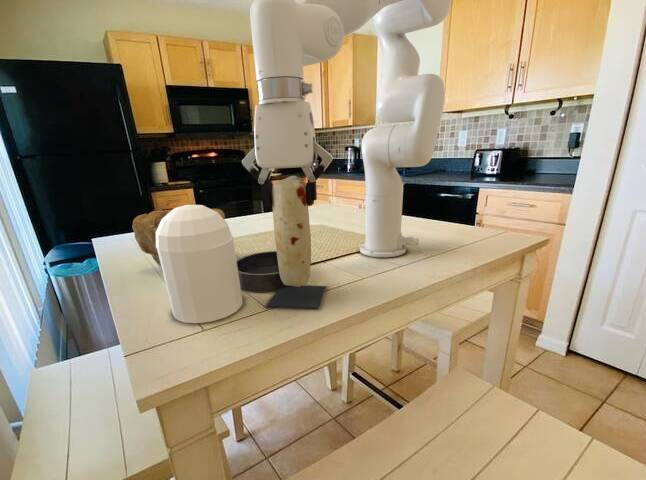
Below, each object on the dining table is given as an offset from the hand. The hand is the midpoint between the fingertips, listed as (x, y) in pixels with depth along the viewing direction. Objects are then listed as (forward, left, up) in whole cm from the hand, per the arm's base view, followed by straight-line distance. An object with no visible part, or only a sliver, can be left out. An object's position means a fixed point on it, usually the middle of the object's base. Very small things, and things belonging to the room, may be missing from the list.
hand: (290, 204), depth 61 cm
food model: (0, 0, -15) cm, 15 cm away
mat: (0, 0, -19) cm, 19 cm away
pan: (+9, -10, -19) cm, 23 cm away
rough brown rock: (+33, -15, -19) cm, 41 cm away
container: (+17, +5, -19) cm, 26 cm away
